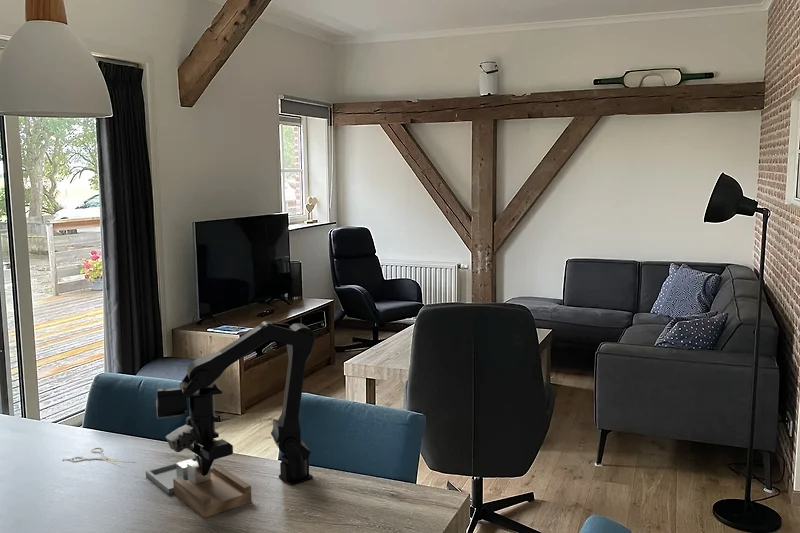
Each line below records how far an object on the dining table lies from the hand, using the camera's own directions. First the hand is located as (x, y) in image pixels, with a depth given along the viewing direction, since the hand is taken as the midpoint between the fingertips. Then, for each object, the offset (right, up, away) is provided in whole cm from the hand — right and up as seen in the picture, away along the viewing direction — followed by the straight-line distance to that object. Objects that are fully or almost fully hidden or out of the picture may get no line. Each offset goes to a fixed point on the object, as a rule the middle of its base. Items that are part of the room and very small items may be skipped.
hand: (204, 475), depth 169 cm
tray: (-8, -3, +10) cm, 13 cm away
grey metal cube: (-5, -1, +6) cm, 8 cm away
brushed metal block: (-2, -2, +3) cm, 4 cm away
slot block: (+2, -5, -2) cm, 6 cm away
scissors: (-33, -3, +21) cm, 39 cm away
